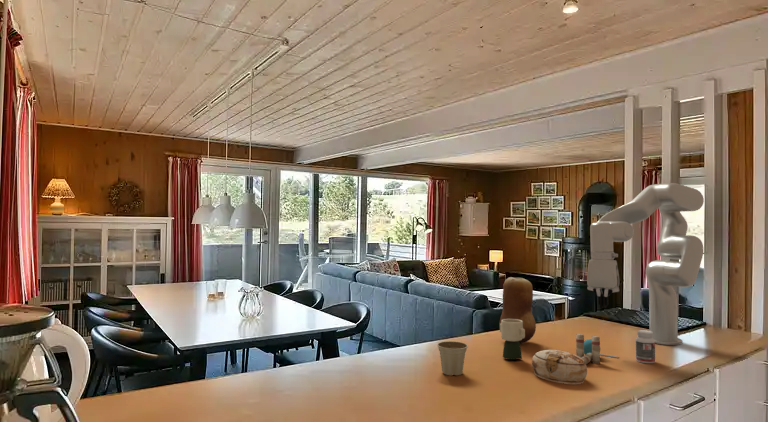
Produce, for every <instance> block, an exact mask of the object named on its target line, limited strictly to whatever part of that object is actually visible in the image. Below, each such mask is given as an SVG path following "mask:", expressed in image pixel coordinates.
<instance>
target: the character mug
mask: <svg viewBox="0 0 768 422" xmlns="http://www.w3.org/2000/svg"><path fill="white" fill-rule="evenodd" d="M499 332H500V335H501V339H502V340H504V343H503V350H502V351H503V352H502V357H503V359H506V360H515V361H517V360H521V359H522V355H523V354H522V348H521V344H520V343H519V341H520V340H522V338H525V329H523V321H522V320H518V319H503V320H501V324H500V325H499Z"/></svg>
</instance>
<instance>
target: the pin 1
mask: <svg viewBox="0 0 768 422" xmlns="http://www.w3.org/2000/svg"><path fill="white" fill-rule="evenodd" d="M575 337H576V338H575V347H576V348H575V349H576V354H575V355H576V356H578V357H580V358H581V357H583V356H585V354H584V341H585V335H584V334H583V333H576V335H575Z"/></svg>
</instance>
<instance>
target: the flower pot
mask: <svg viewBox="0 0 768 422" xmlns="http://www.w3.org/2000/svg"><path fill="white" fill-rule="evenodd" d="M436 345H437V347H438V351H439V357H440V363H441V372H442V374H443V375H447V376H449V377H450V376H453V375H454V376H461V375H462V374H463V373H464V364H465V356H466V352H467V349H468V348H469V345H468V344H467V343H465V342H462V341H455V340H454V341H452V340H451V341H450V340H448V341H440V342H438V343H437V344H436Z"/></svg>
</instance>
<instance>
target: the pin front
mask: <svg viewBox="0 0 768 422" xmlns="http://www.w3.org/2000/svg"><path fill="white" fill-rule="evenodd" d="M581 358H582V359H583V360H584V363H585V364H586V365H588V364H589V363H590V362H592V353H588V354H586V355H585V354H584V356H583V357H581Z"/></svg>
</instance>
